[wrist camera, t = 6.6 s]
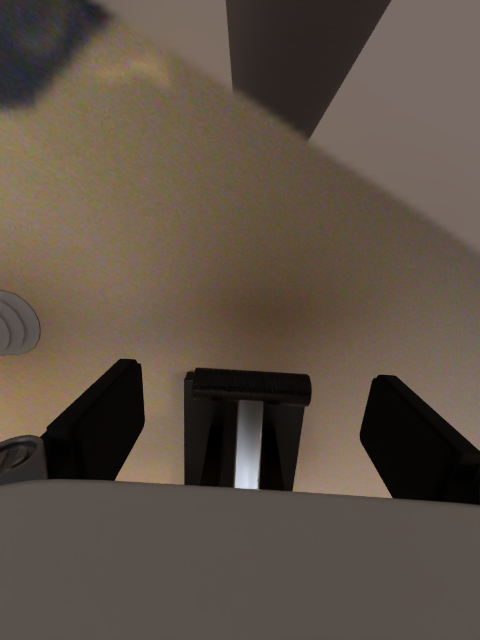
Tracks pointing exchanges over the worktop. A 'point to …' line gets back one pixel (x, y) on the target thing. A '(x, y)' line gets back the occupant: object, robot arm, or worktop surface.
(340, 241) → the worktop surface
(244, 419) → the lever
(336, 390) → the worktop surface
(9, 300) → the chalice
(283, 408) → the bracket
